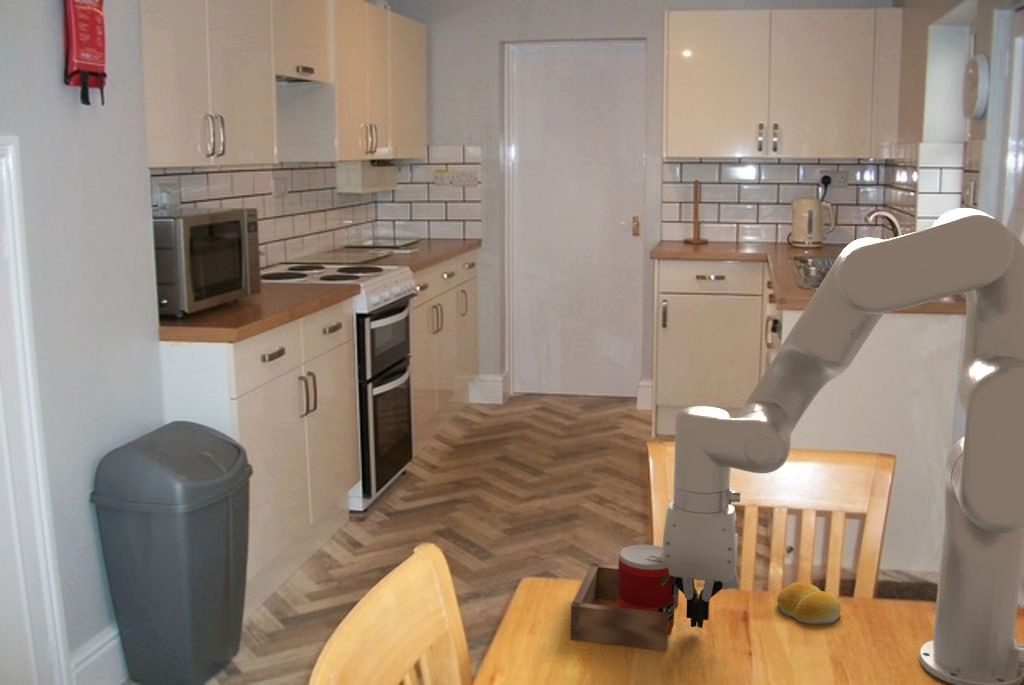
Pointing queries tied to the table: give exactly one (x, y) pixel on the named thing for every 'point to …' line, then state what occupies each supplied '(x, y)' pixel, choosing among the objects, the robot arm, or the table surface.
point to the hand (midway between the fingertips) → (697, 623)
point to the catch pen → (615, 615)
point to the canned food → (645, 581)
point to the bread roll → (808, 603)
